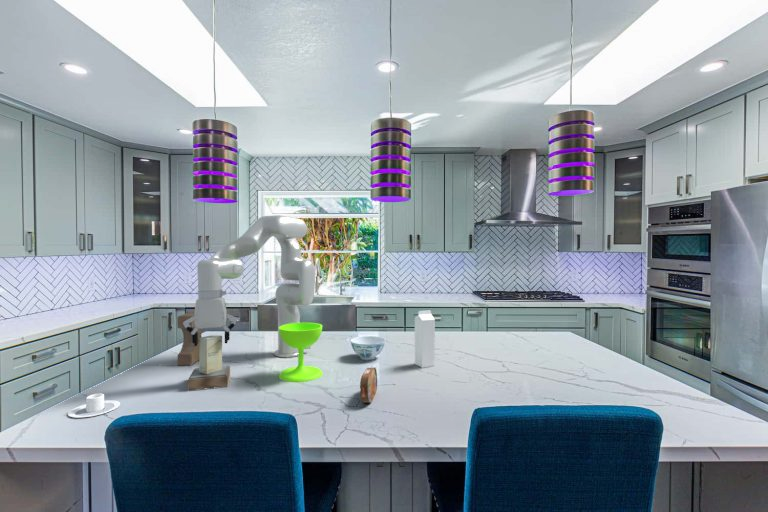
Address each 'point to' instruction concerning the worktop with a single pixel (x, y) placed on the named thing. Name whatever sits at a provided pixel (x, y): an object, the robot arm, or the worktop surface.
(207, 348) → the skincare box
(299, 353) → the wineglass
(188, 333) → the decorative block
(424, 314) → the milk
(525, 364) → the worktop surface
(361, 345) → the chinaware
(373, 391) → the tin
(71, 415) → the candle holder
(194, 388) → the plinth
